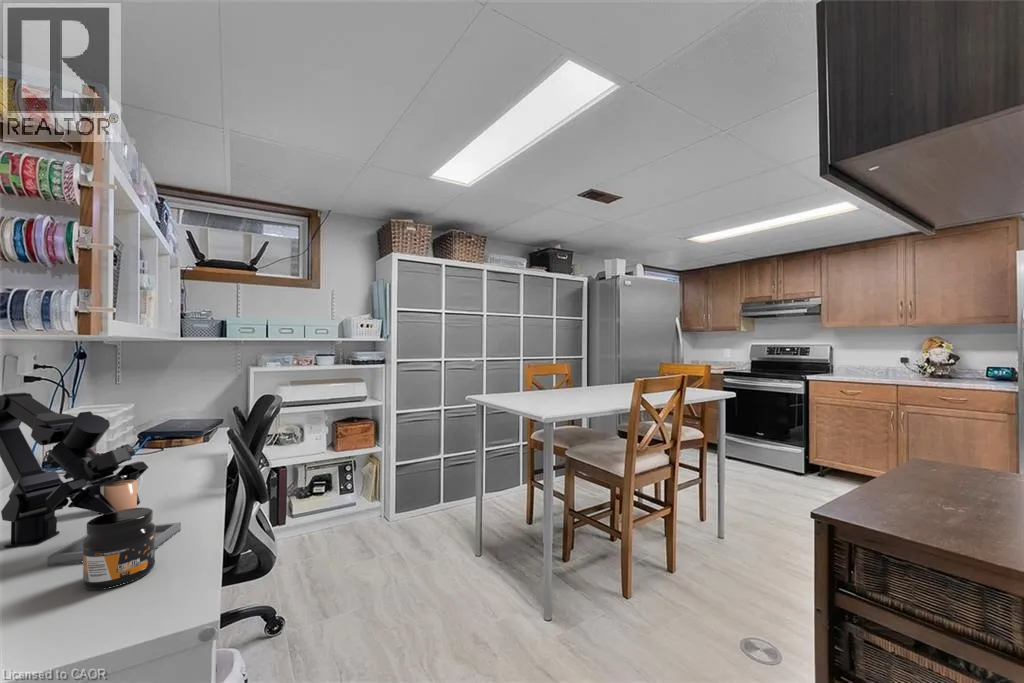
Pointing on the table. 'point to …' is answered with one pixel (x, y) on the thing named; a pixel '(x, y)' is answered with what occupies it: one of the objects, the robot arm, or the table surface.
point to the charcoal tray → (75, 549)
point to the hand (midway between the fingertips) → (126, 509)
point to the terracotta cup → (121, 494)
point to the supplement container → (118, 548)
